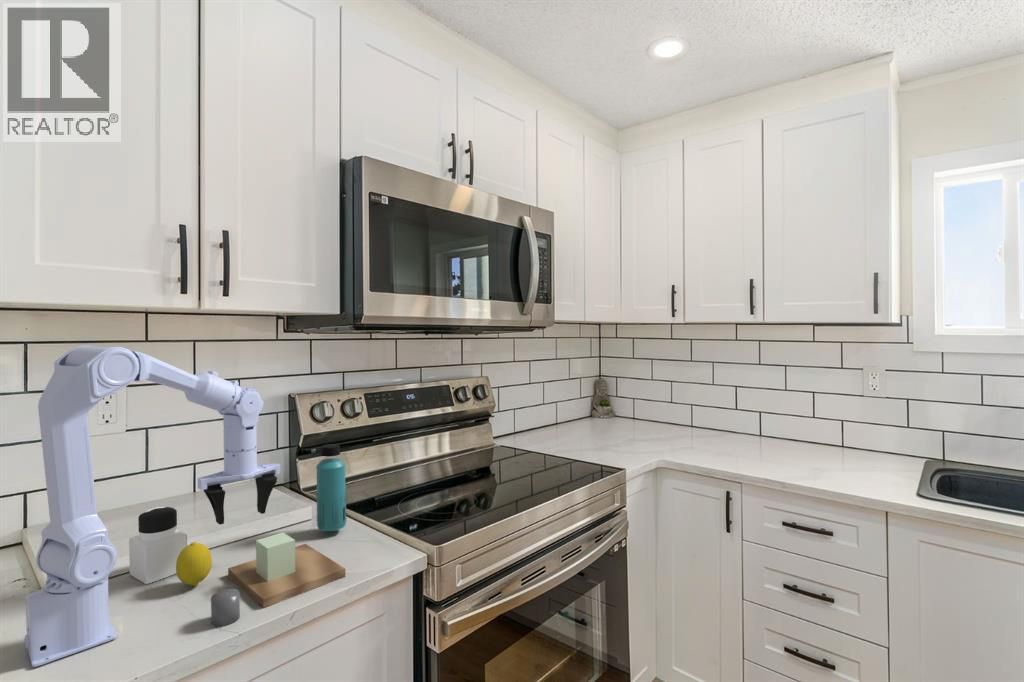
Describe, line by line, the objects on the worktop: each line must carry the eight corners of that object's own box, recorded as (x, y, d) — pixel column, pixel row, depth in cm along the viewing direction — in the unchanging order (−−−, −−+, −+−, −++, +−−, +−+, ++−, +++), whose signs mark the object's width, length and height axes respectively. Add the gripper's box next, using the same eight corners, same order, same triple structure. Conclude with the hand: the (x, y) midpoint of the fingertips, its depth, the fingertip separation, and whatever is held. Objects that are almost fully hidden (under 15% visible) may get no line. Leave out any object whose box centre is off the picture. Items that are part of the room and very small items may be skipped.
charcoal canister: (217, 630, 82) (216, 604, 81) (207, 620, 84) (206, 595, 84) (244, 618, 85) (243, 594, 84) (233, 609, 87) (233, 586, 87)
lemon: (195, 595, 92) (194, 550, 91) (168, 591, 93) (167, 547, 92) (219, 580, 97) (218, 537, 97) (193, 576, 98) (192, 534, 98)
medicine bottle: (188, 570, 101) (187, 508, 100) (146, 585, 95) (144, 520, 94) (170, 560, 105) (169, 501, 104) (129, 574, 99) (127, 511, 98)
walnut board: (263, 608, 88) (263, 599, 88) (228, 576, 99) (228, 568, 98) (345, 576, 99) (345, 568, 99) (305, 550, 110) (305, 543, 109)
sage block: (267, 581, 94) (267, 548, 93) (256, 572, 97) (256, 540, 97) (295, 571, 97) (295, 540, 97) (283, 563, 101) (283, 532, 100)
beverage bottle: (347, 535, 117) (347, 447, 117) (316, 540, 115) (315, 449, 114) (345, 525, 123) (345, 440, 123) (315, 529, 121) (315, 443, 120)
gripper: (206, 459, 94) (207, 533, 95) (286, 445, 105) (287, 512, 105) (193, 452, 99) (194, 523, 100) (271, 440, 110) (272, 504, 110)
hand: (241, 517), depth 103 cm, fingers open, 7 cm apart
